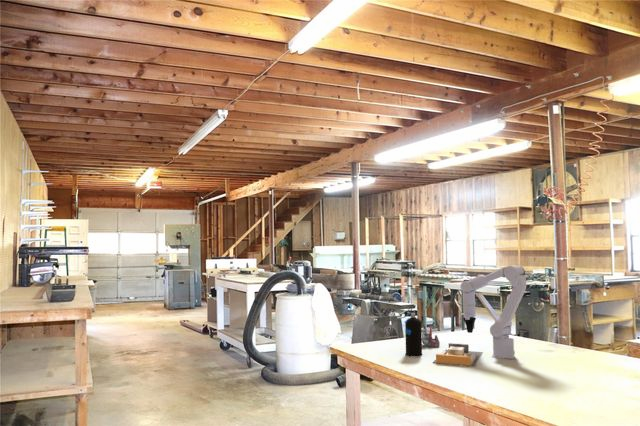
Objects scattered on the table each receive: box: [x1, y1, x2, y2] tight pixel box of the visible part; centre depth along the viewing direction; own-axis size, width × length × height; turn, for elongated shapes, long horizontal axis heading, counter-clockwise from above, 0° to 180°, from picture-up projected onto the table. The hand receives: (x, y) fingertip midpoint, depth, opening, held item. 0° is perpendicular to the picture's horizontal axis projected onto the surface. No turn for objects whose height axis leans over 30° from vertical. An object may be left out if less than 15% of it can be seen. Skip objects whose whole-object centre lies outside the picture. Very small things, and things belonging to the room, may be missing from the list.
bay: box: [432, 348, 484, 368], centre depth 235 cm, size 18×31×4 cm, turn 155°
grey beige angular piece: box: [446, 342, 470, 356], centre depth 230 cm, size 9×12×6 cm
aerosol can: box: [404, 312, 424, 357], centre depth 242 cm, size 8×8×20 cm
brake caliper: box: [422, 324, 441, 348], centre depth 263 cm, size 11×11×12 cm
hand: (470, 332), depth 248 cm, fingers closed
